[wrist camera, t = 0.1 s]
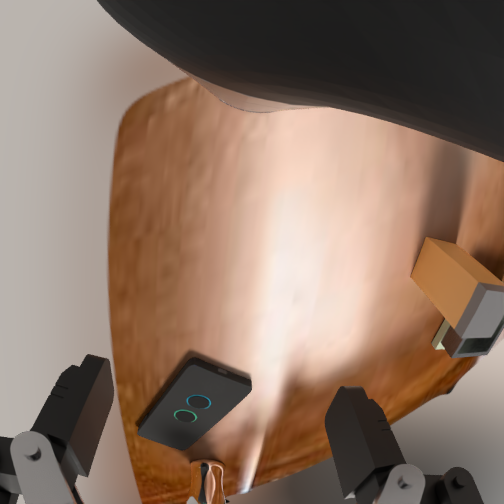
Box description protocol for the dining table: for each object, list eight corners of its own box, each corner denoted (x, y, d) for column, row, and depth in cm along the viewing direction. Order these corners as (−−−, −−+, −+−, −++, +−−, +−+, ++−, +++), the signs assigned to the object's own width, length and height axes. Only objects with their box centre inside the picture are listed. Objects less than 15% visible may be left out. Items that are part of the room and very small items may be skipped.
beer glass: (229, 459, 43) (230, 537, 29) (225, 474, 46) (225, 542, 32) (188, 455, 42) (181, 533, 29) (187, 470, 45) (182, 539, 31)
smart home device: (255, 389, 33) (184, 452, 39) (255, 378, 34) (185, 443, 41) (189, 363, 30) (134, 434, 37) (191, 352, 32) (136, 425, 39)
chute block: (426, 236, 27) (486, 290, 18) (456, 244, 27) (514, 293, 18) (410, 276, 28) (460, 338, 19) (440, 281, 29) (491, 337, 20)
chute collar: (468, 289, 28) (482, 303, 26) (502, 293, 29) (515, 306, 26) (440, 342, 31) (451, 358, 29) (476, 341, 32) (487, 354, 30)
